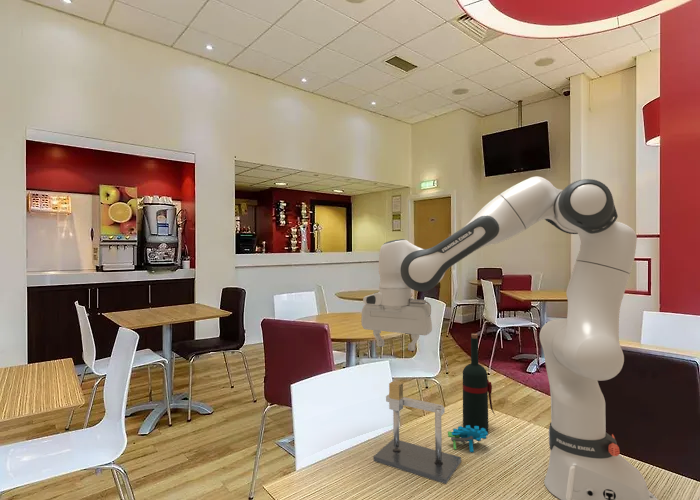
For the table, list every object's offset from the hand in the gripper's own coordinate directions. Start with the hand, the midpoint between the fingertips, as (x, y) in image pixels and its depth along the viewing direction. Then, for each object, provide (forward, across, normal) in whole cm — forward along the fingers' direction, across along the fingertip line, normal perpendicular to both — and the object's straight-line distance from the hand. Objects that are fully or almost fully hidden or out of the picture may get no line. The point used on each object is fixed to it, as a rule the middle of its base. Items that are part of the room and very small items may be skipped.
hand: (395, 348), depth 109 cm
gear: (+30, -15, -15) cm, 37 cm away
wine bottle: (+30, -15, -28) cm, 43 cm away
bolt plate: (+30, -6, 0) cm, 30 cm away
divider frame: (+28, -4, -1) cm, 29 cm away
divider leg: (+28, 0, 0) cm, 28 cm away
